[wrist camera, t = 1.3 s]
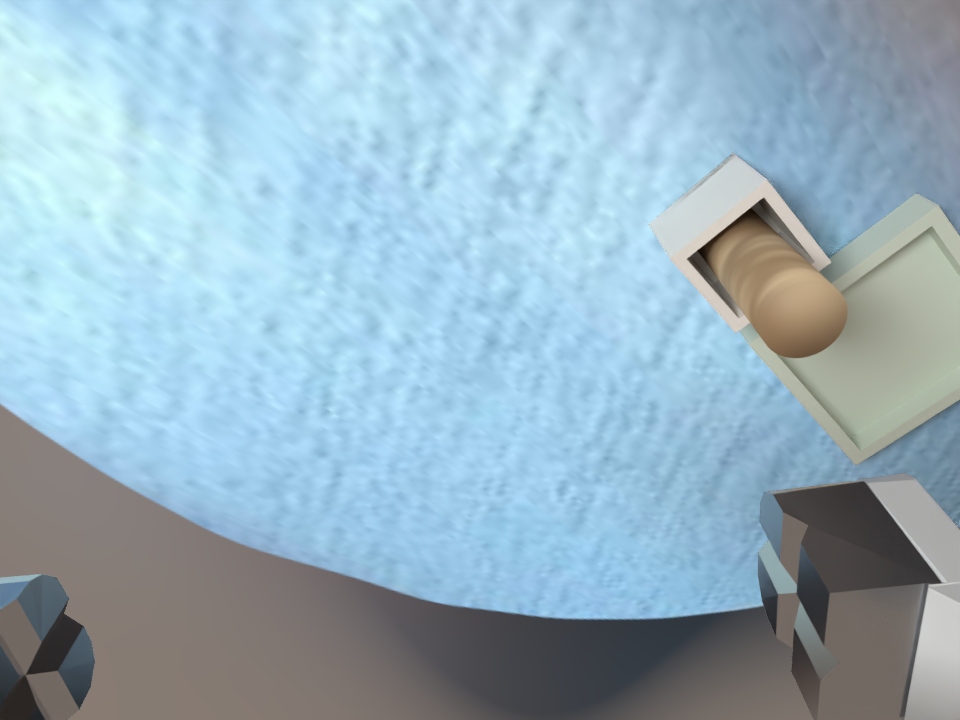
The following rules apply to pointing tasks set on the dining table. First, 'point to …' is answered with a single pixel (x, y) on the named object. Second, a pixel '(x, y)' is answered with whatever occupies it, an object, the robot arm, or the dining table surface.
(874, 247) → the tray
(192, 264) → the dining table surface
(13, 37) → the dining table surface
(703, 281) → the pen cup
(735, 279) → the dowel
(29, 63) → the dining table surface
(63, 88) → the dining table surface
